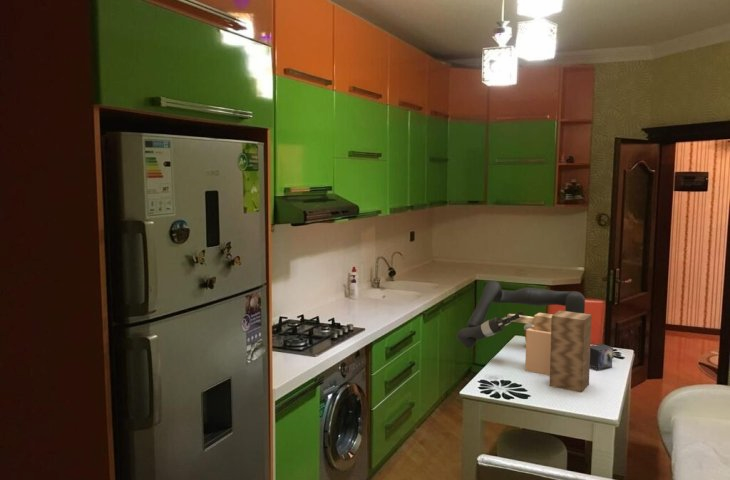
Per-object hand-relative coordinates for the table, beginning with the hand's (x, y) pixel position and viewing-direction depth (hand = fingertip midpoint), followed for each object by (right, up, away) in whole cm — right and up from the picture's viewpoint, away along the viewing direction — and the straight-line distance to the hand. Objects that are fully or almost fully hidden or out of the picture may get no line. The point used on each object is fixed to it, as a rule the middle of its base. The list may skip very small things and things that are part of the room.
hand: (520, 314), depth 282 cm
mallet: (+4, -6, -2) cm, 8 cm away
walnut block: (+15, -29, -24) cm, 40 cm away
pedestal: (+10, -26, -4) cm, 28 cm away
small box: (+38, -26, -1) cm, 46 cm away
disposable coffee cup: (+15, -22, +33) cm, 42 cm away
